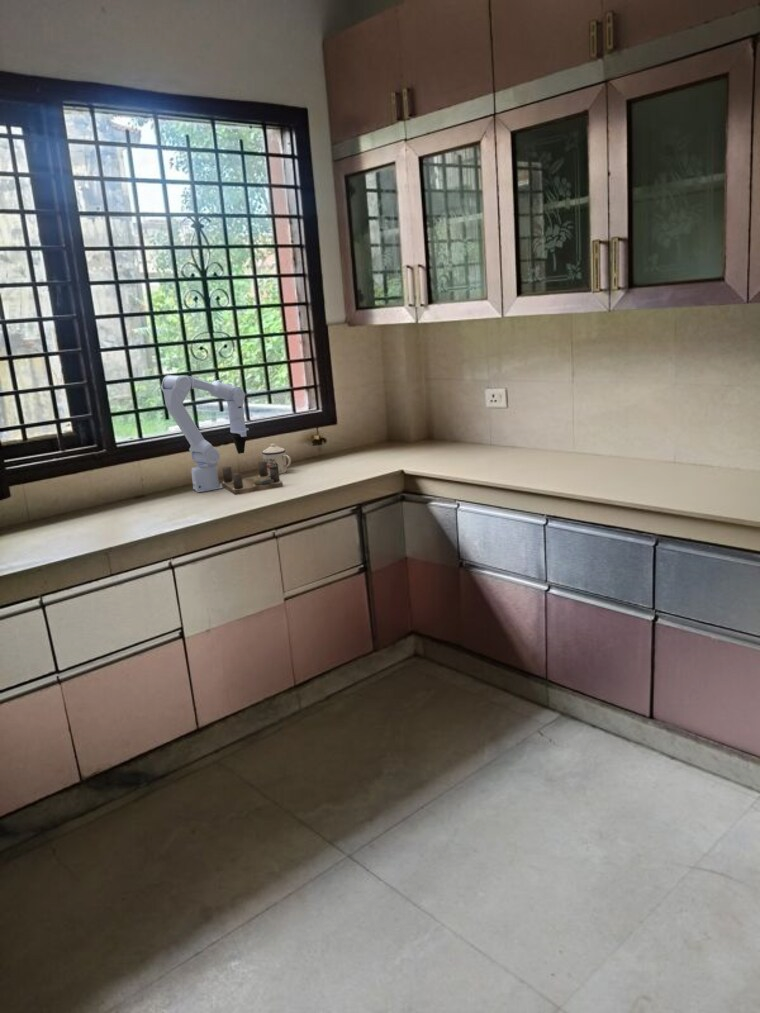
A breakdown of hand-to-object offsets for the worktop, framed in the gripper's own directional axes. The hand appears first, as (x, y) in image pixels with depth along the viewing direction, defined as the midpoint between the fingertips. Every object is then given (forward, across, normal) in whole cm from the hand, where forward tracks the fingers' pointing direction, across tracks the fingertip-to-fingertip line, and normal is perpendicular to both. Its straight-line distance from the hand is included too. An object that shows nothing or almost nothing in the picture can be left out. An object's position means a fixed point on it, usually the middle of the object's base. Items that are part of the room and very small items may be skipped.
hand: (241, 453), depth 299 cm
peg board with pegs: (+10, -14, +1) cm, 17 cm away
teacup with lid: (+11, +2, -15) cm, 18 cm away
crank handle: (+8, -21, -3) cm, 23 cm away
